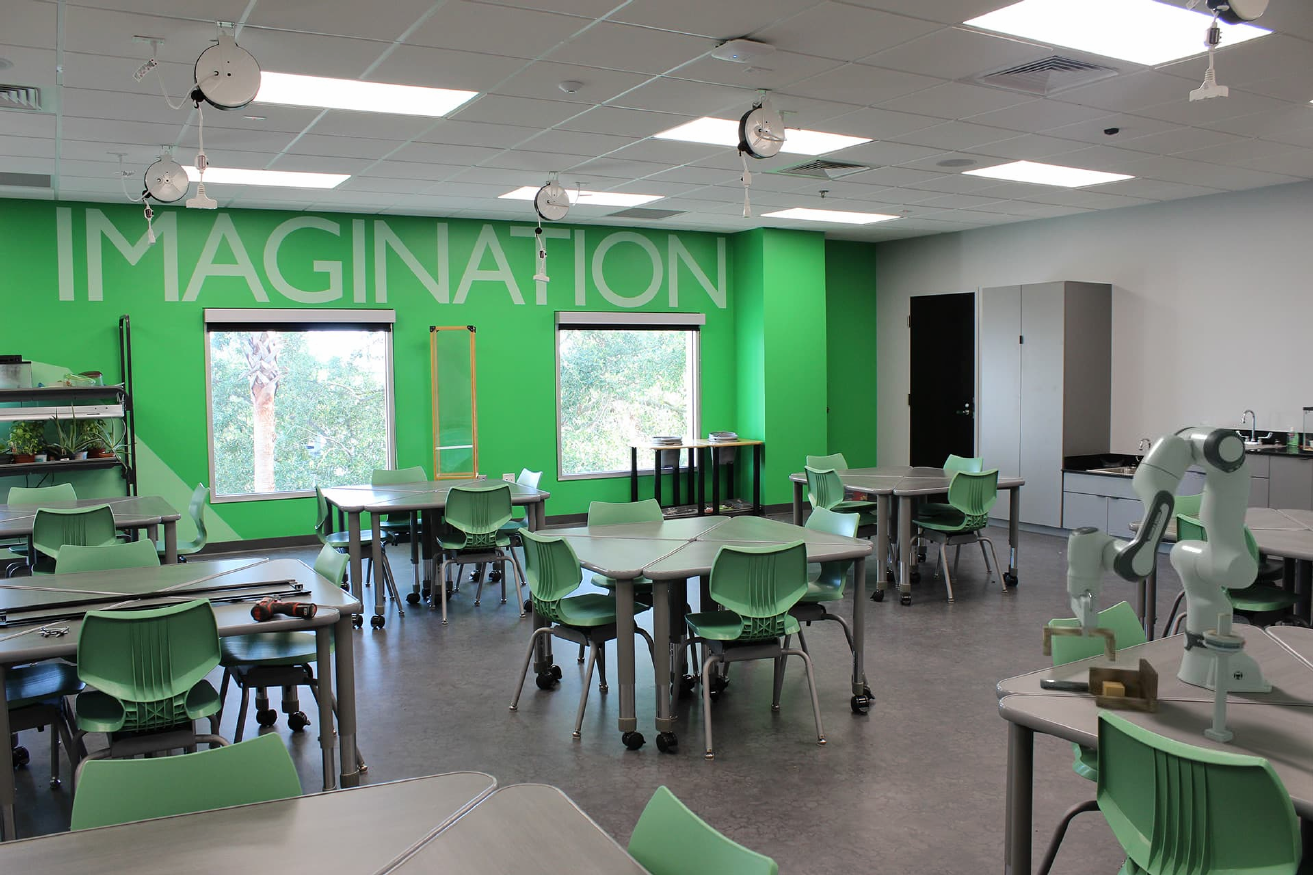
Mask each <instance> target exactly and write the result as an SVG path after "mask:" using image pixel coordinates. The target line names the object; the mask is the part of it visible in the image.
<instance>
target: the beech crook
mask: <svg viewBox="0 0 1313 875" xmlns="http://www.w3.org/2000/svg"><path fill="white" fill-rule="evenodd" d="M1081 630H1082V627H1079V626H1077V627H1076V626H1061V625H1042V655H1043V656H1044V657H1051V656H1052V636H1063V637H1064V636H1066V637H1082V635H1081ZM1088 638H1104V656H1105V657H1106V658H1107V660H1108V662H1116V651H1117V650H1116V642H1117V641H1116V638H1115V630H1114V628H1106V627H1103V628H1101V627H1097V628H1090V631H1089V637H1088Z"/></svg>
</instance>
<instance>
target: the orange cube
mask: <svg viewBox="0 0 1313 875" xmlns="http://www.w3.org/2000/svg"><path fill="white" fill-rule="evenodd" d="M1124 694H1125V688H1124V686H1123V685H1122V683H1121V682H1108V681H1103V682H1102V695H1103V696H1116V697H1124Z"/></svg>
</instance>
